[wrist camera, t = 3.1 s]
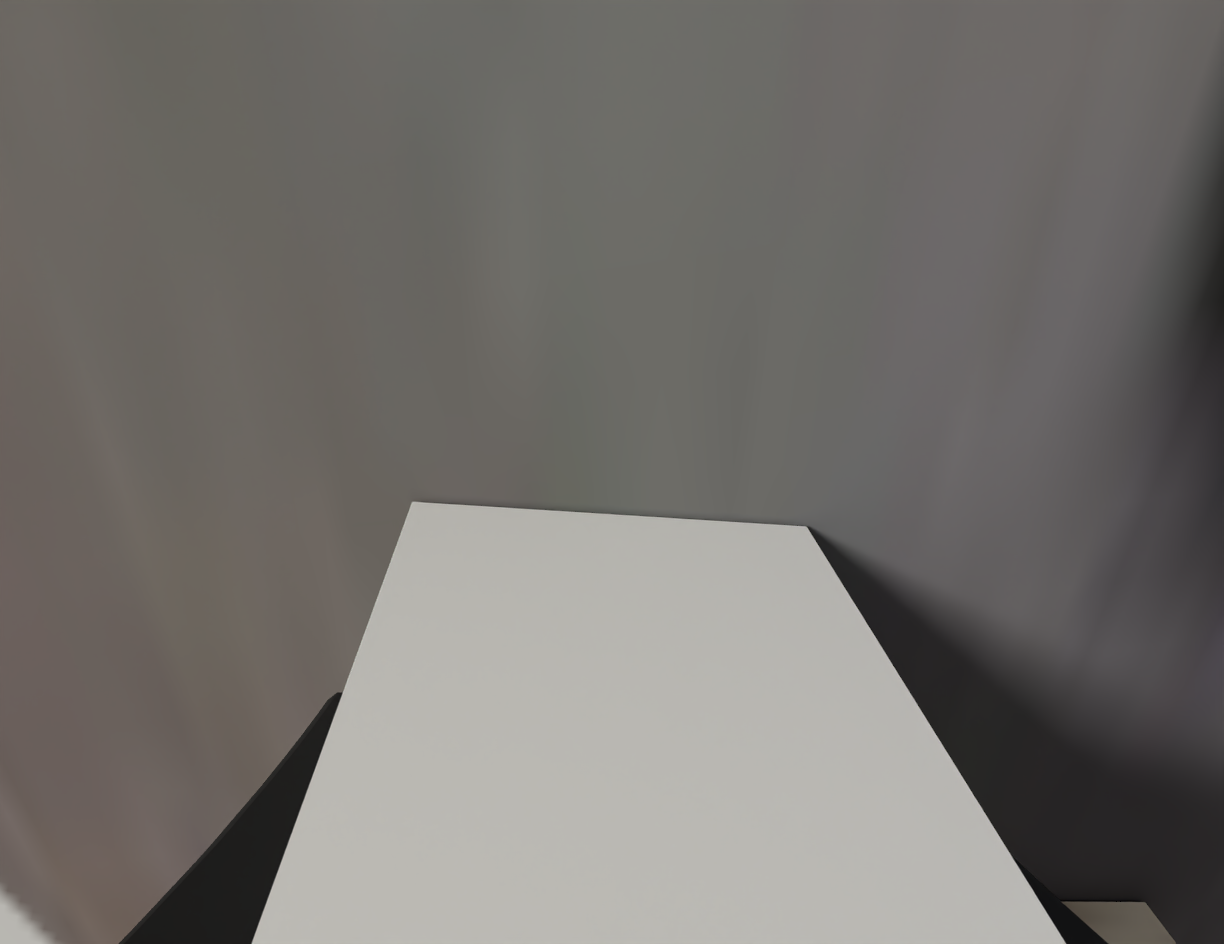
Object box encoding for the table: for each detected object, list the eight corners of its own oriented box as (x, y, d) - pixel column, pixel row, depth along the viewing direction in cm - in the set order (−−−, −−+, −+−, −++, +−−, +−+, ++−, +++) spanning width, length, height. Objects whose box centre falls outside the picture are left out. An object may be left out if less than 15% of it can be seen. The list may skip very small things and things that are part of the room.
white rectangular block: (806, 526, 10) (1168, 1109, 4) (738, 804, 12) (912, 1449, 6) (412, 501, 10) (182, 1135, 4) (412, 797, 12) (268, 1499, 6)
